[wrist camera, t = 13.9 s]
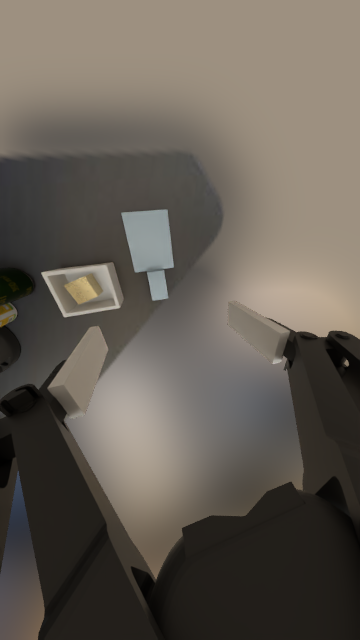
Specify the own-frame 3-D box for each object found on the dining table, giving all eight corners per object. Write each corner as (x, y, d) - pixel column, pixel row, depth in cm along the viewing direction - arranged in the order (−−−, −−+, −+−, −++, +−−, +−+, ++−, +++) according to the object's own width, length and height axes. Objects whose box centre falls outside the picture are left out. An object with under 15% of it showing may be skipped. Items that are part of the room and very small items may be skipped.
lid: (121, 213, 27) (118, 208, 24) (166, 210, 28) (169, 205, 25) (141, 297, 34) (140, 302, 31) (176, 292, 36) (179, 296, 33)
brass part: (86, 298, 31) (78, 304, 27) (73, 281, 29) (63, 285, 26) (103, 291, 31) (98, 296, 28) (91, 273, 29) (84, 276, 26)
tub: (77, 306, 32) (64, 317, 27) (60, 268, 28) (40, 272, 23) (123, 298, 33) (119, 307, 28) (113, 262, 30) (106, 264, 24)
